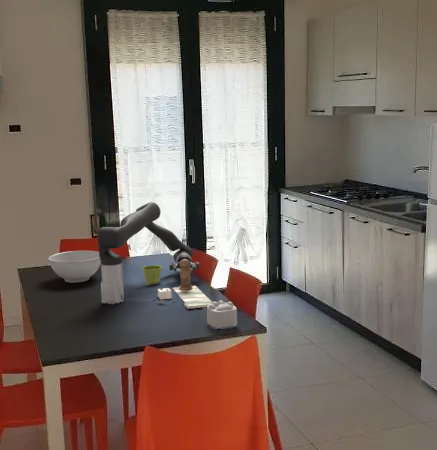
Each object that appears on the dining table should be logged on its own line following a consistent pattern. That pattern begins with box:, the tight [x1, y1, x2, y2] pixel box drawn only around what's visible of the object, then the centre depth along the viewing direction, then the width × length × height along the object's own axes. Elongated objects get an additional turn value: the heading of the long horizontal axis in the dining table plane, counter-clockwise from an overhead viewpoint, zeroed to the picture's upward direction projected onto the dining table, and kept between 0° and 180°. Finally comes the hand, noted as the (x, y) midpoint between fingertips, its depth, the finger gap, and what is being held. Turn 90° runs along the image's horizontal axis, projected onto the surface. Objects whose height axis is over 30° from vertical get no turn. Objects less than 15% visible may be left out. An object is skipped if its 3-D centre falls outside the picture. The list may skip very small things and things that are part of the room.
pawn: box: [178, 259, 193, 290], centre depth 298 cm, size 6×6×14 cm
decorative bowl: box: [47, 250, 101, 284], centre depth 326 cm, size 27×27×12 cm
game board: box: [172, 285, 213, 309], centre depth 288 cm, size 32×12×2 cm, turn 16°
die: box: [157, 287, 172, 303], centre depth 286 cm, size 5×5×6 cm
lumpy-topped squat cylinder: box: [206, 299, 238, 328], centre depth 251 cm, size 10×13×9 cm
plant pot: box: [141, 265, 162, 286], centre depth 312 cm, size 9×9×9 cm
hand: (184, 269), depth 305 cm, fingers open, 8 cm apart
